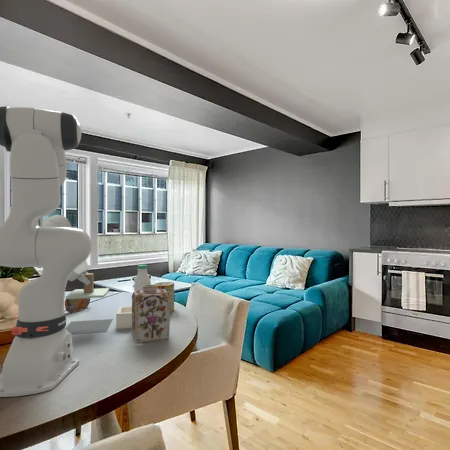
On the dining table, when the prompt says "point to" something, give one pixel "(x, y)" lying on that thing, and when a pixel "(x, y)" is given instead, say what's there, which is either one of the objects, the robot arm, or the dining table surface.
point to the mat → (88, 326)
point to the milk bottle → (141, 278)
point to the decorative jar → (150, 314)
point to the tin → (76, 304)
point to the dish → (124, 317)
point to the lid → (88, 290)
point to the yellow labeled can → (170, 290)
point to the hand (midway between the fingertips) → (90, 282)
